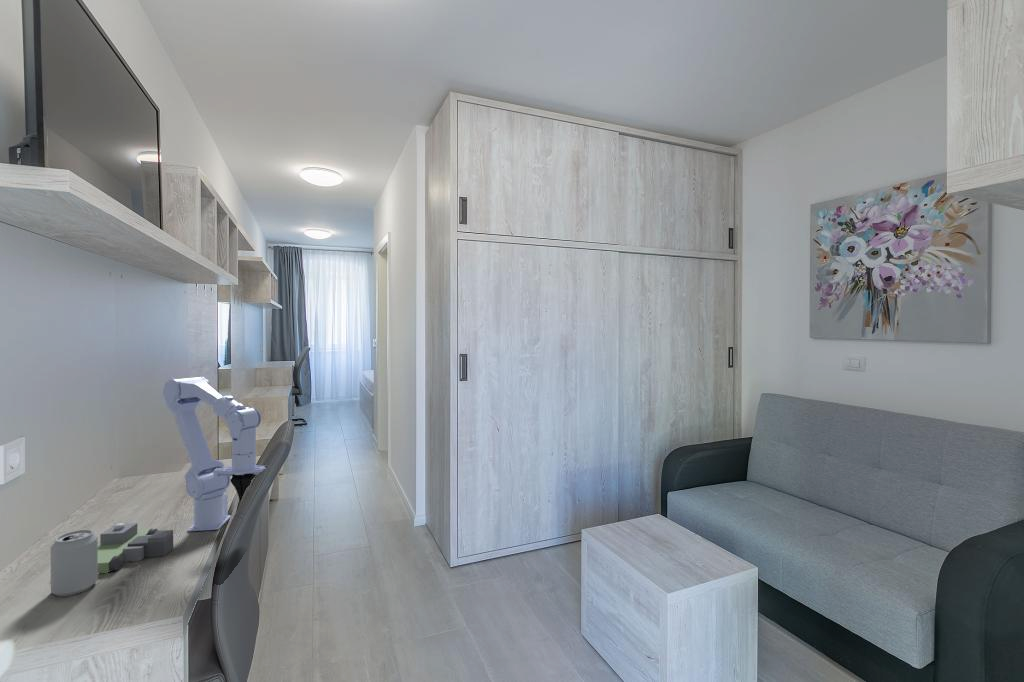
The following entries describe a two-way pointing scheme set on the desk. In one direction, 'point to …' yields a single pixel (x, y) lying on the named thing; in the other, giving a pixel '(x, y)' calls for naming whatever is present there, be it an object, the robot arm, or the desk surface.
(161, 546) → the grey rectangular box
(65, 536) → the can
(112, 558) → the deck
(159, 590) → the desk surface
